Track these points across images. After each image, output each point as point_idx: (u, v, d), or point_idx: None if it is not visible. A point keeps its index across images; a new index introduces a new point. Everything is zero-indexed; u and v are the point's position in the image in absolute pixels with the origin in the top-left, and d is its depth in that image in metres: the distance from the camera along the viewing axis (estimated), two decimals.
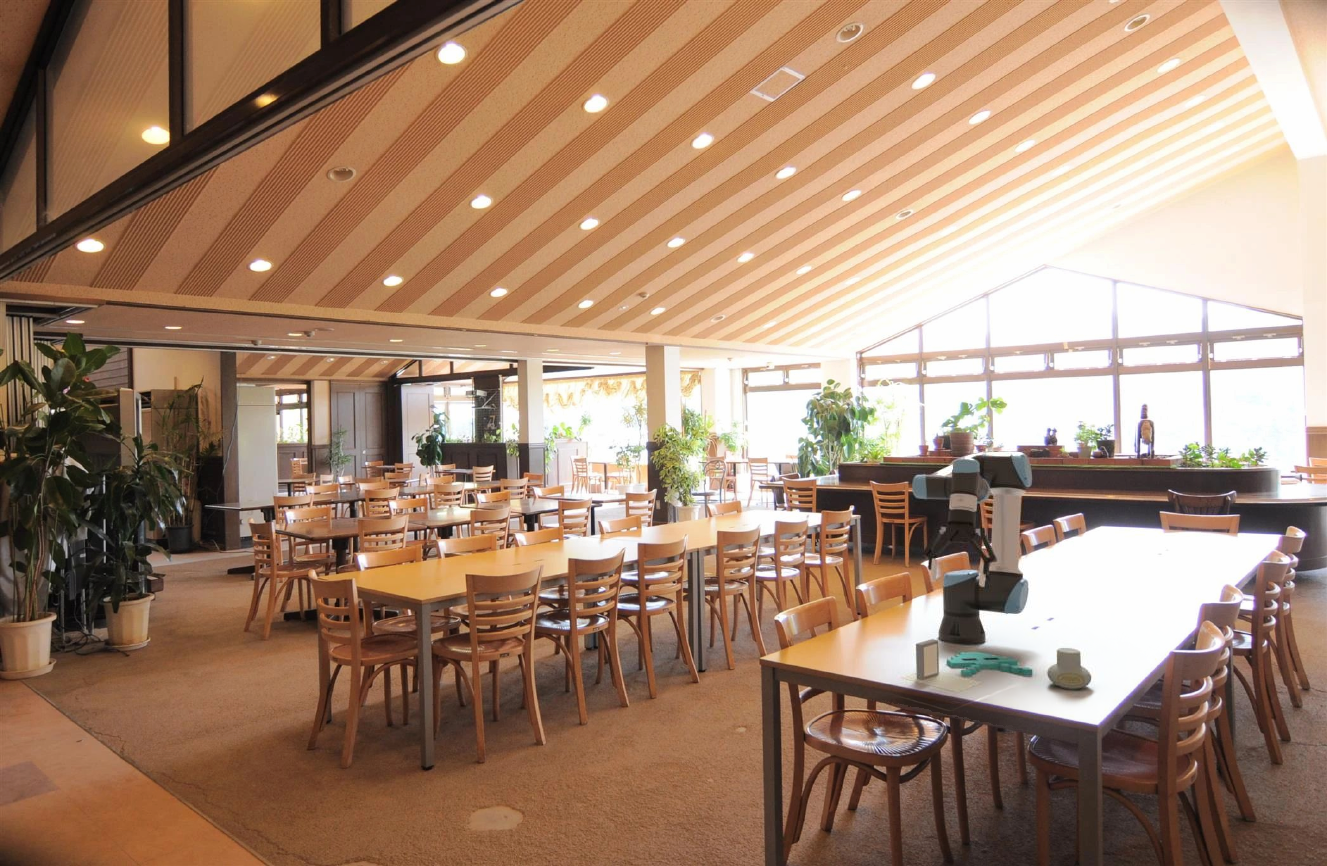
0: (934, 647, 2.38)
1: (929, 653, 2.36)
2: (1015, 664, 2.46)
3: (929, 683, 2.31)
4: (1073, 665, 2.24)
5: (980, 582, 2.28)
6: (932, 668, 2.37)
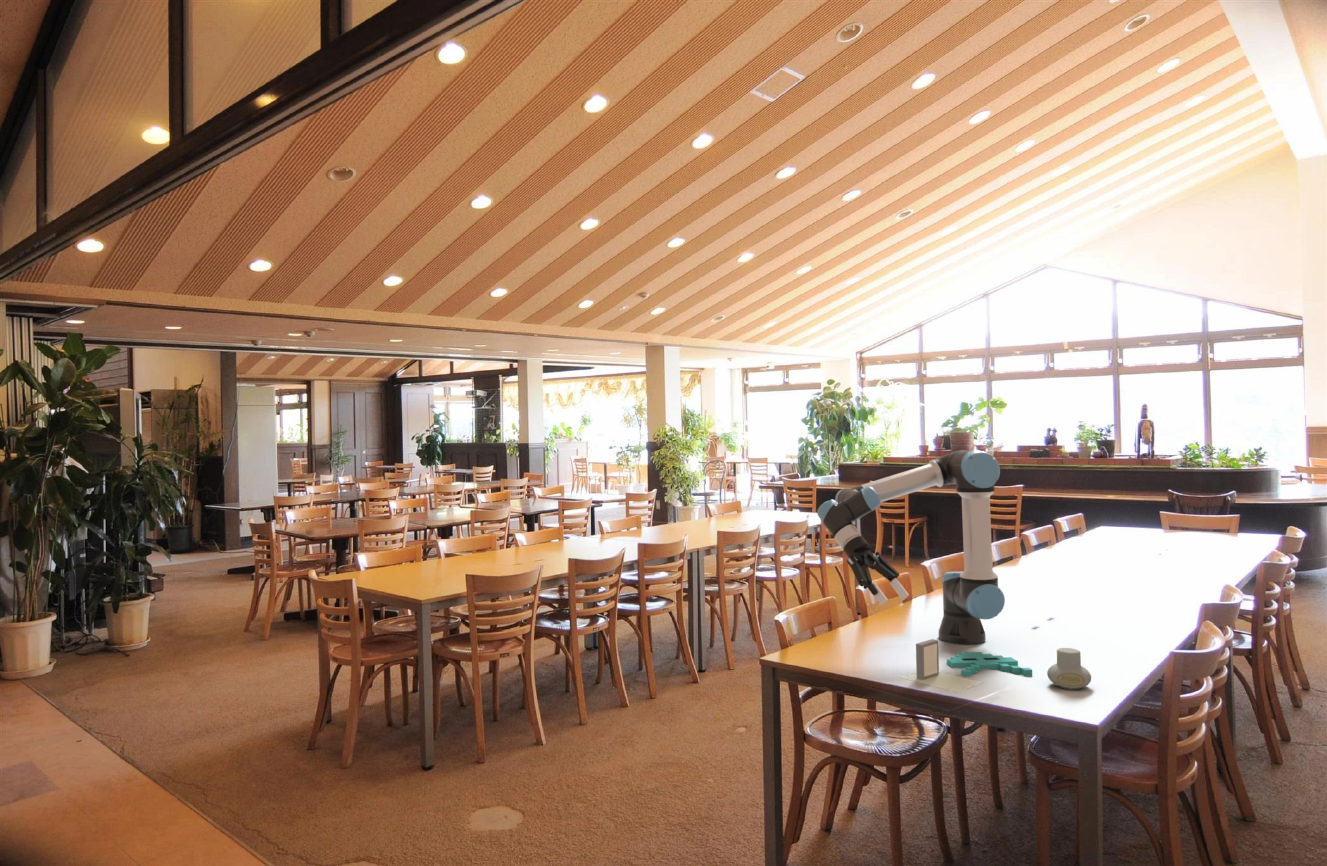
0: (934, 647, 2.38)
1: (929, 653, 2.36)
2: (1015, 664, 2.46)
3: (929, 683, 2.31)
4: (1073, 665, 2.24)
5: None
6: (932, 668, 2.37)
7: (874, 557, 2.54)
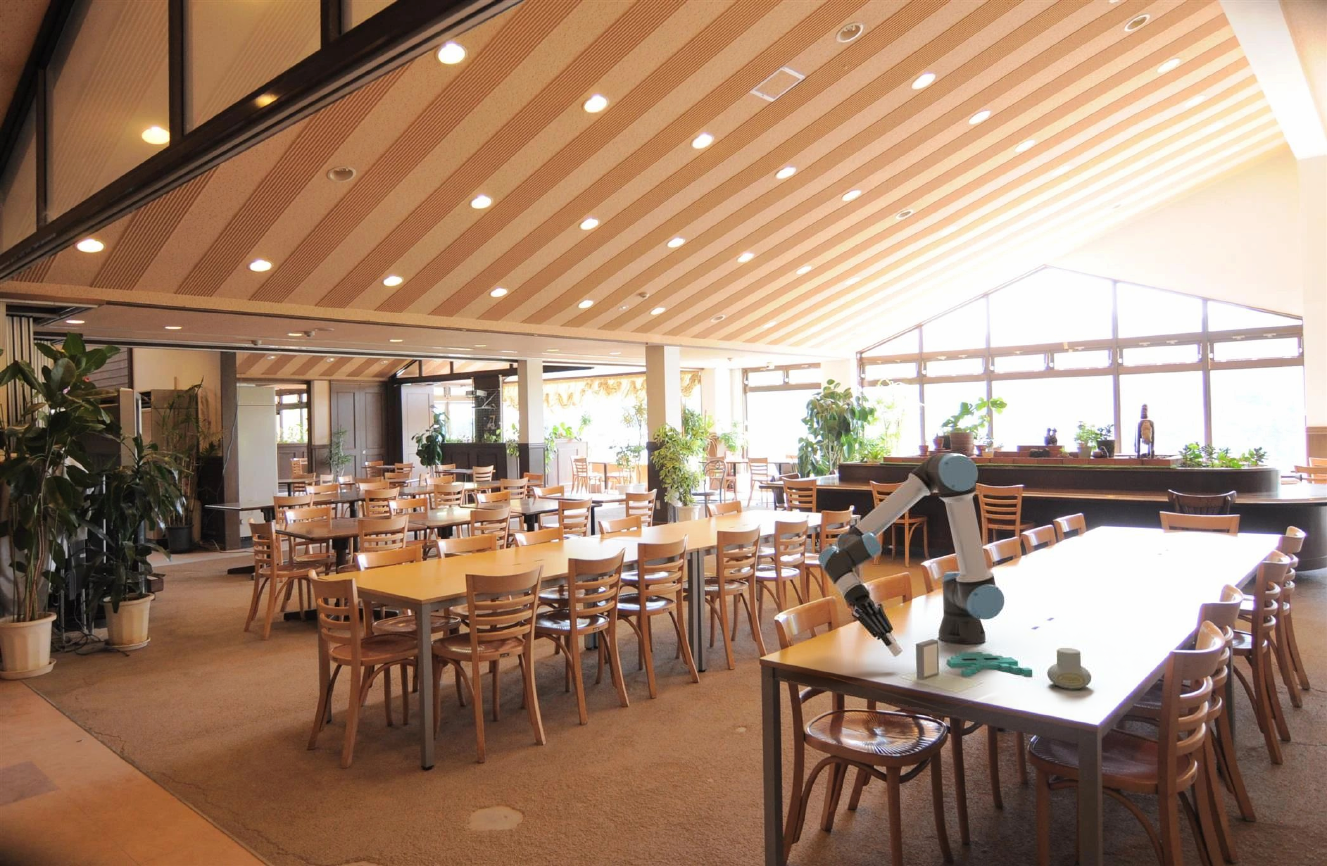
0: (934, 647, 2.38)
1: (929, 653, 2.36)
2: (1015, 664, 2.46)
3: (929, 683, 2.31)
4: (1073, 665, 2.24)
5: None
6: (932, 668, 2.37)
7: (874, 607, 2.54)
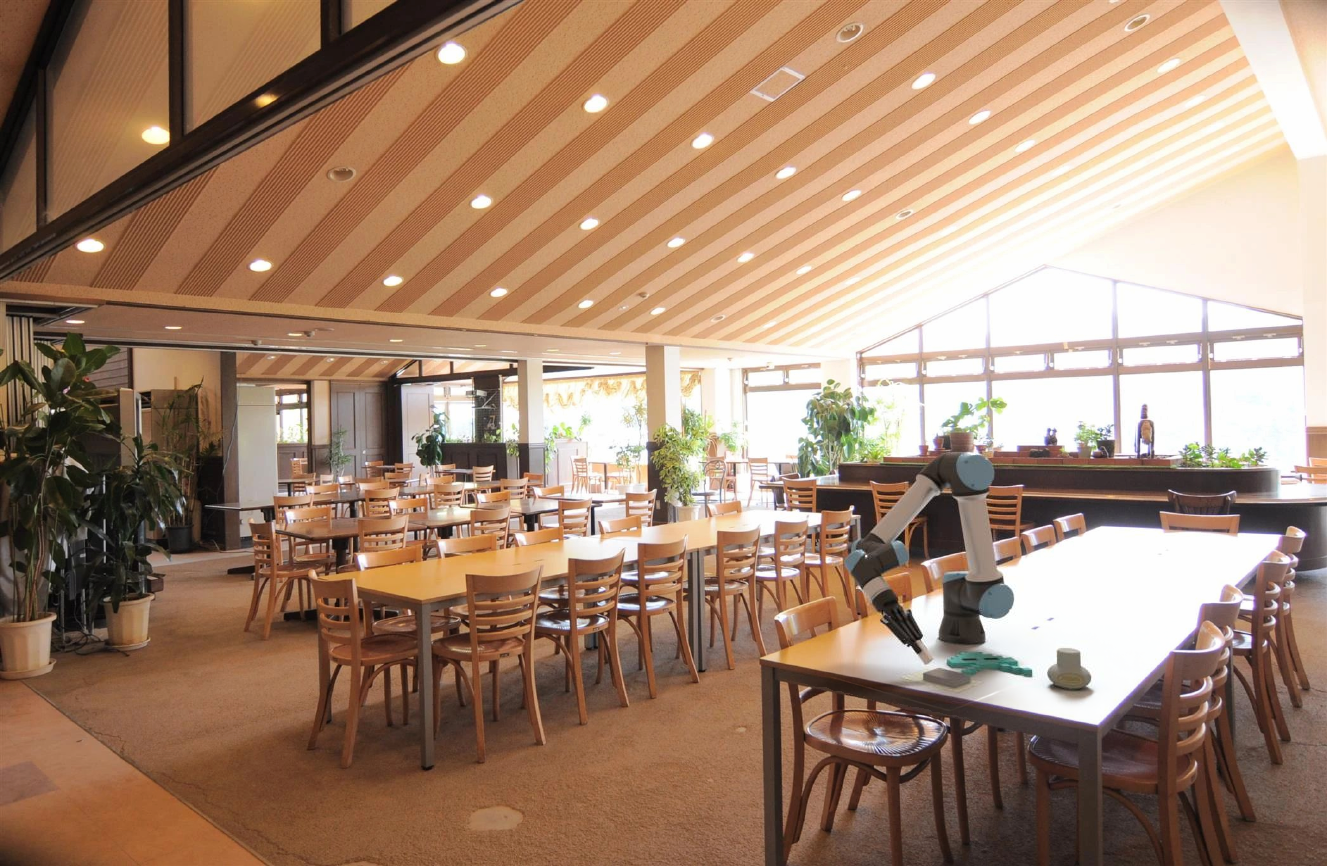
0: None
1: None
2: (1015, 664, 2.46)
3: (929, 683, 2.31)
4: (1073, 665, 2.24)
5: None
6: None
7: (903, 613, 2.45)
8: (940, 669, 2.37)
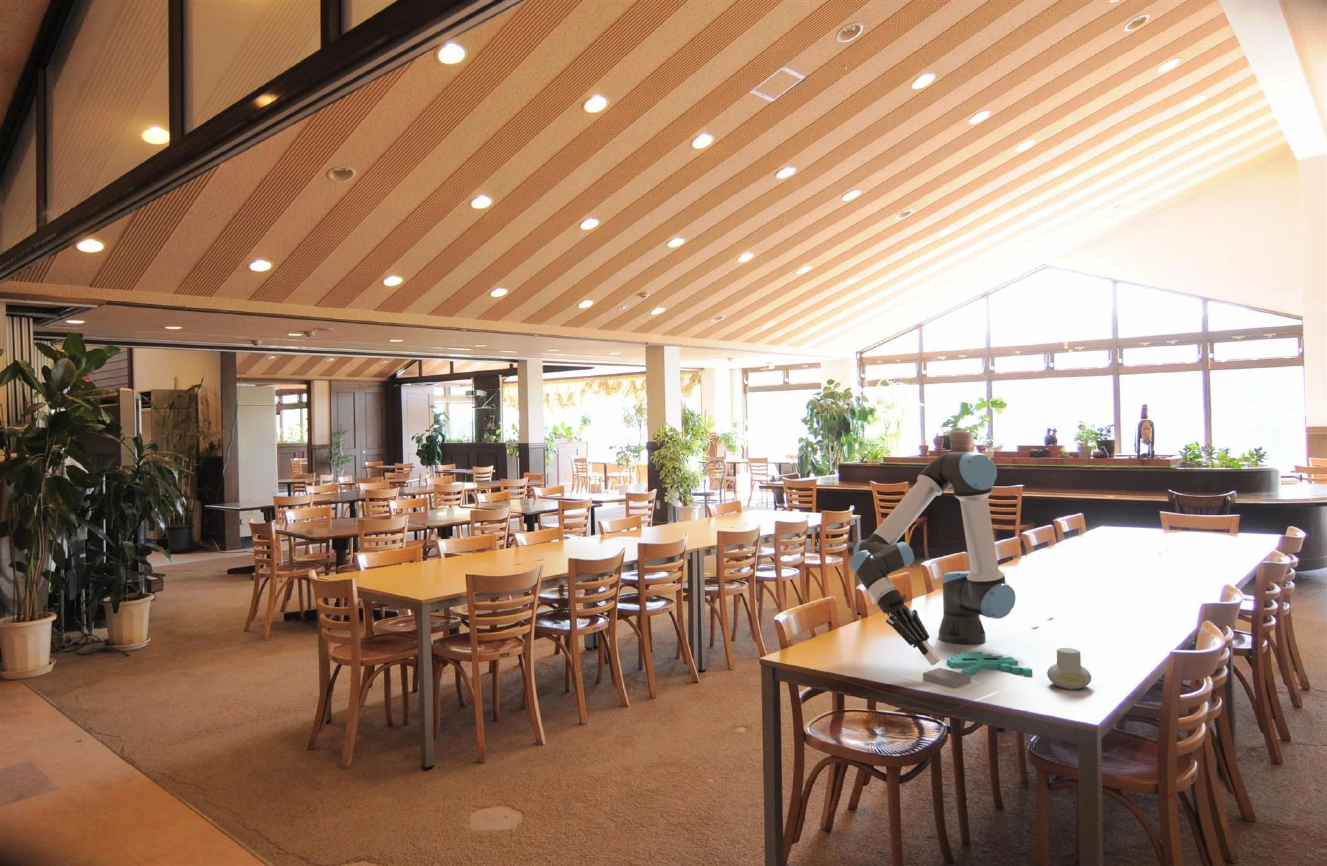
0: None
1: None
2: (1015, 664, 2.46)
3: (929, 683, 2.31)
4: (1073, 665, 2.24)
5: None
6: None
7: (909, 613, 2.44)
8: (940, 669, 2.37)
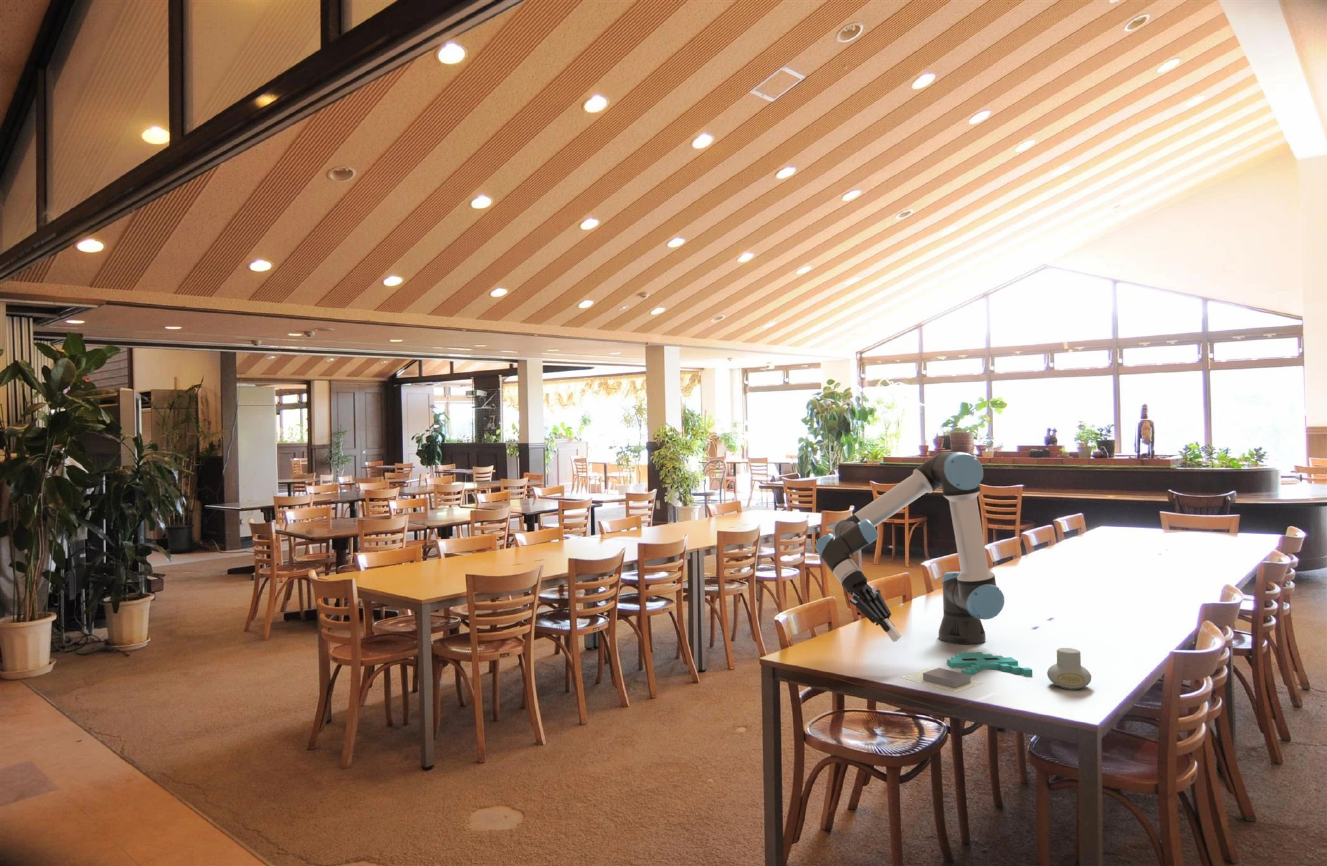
0: None
1: None
2: (1015, 664, 2.46)
3: (929, 683, 2.31)
4: (1073, 665, 2.24)
5: None
6: None
7: (872, 593, 2.54)
8: (940, 669, 2.37)
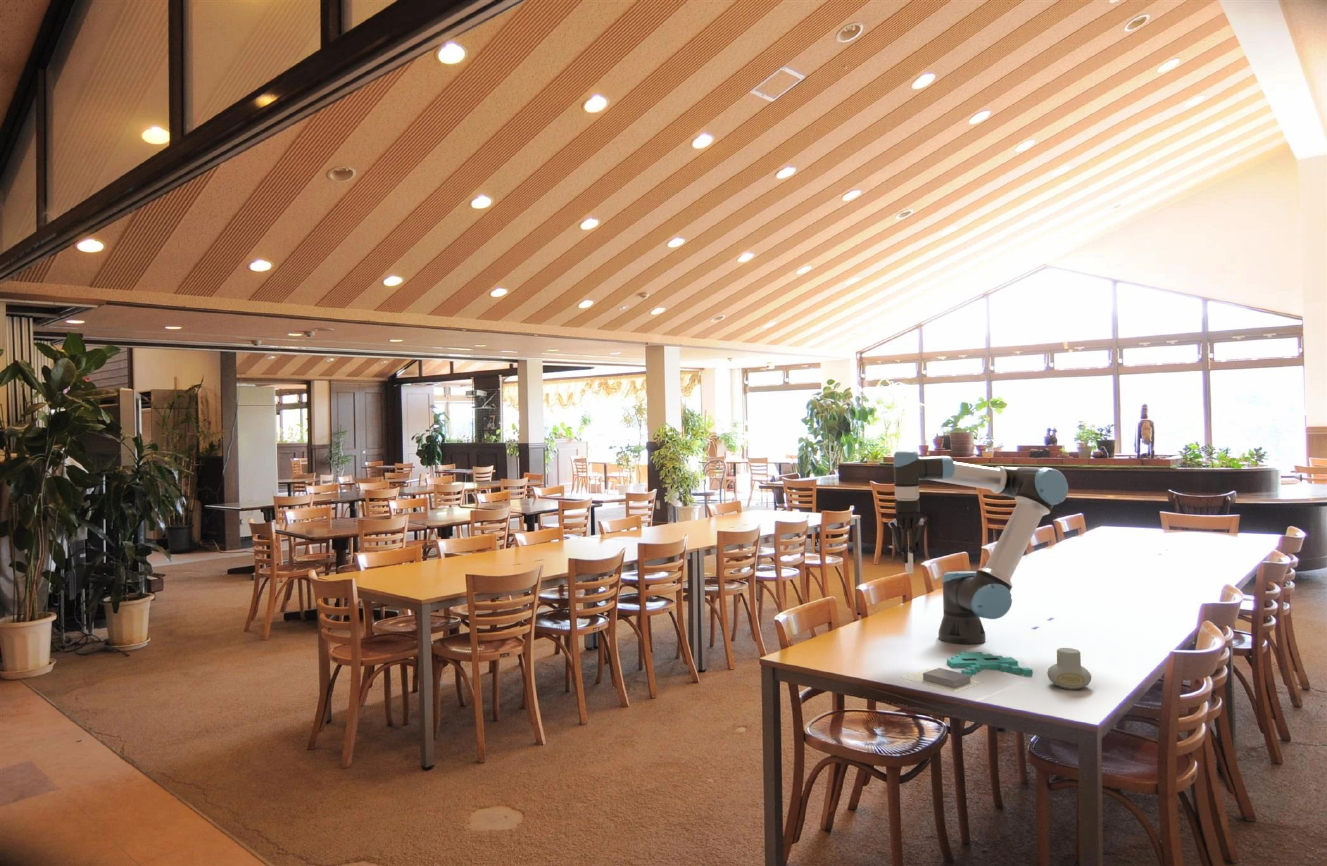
0: None
1: None
2: (1015, 664, 2.46)
3: (929, 683, 2.31)
4: (1073, 665, 2.24)
5: None
6: None
7: (914, 524, 2.61)
8: (940, 669, 2.37)
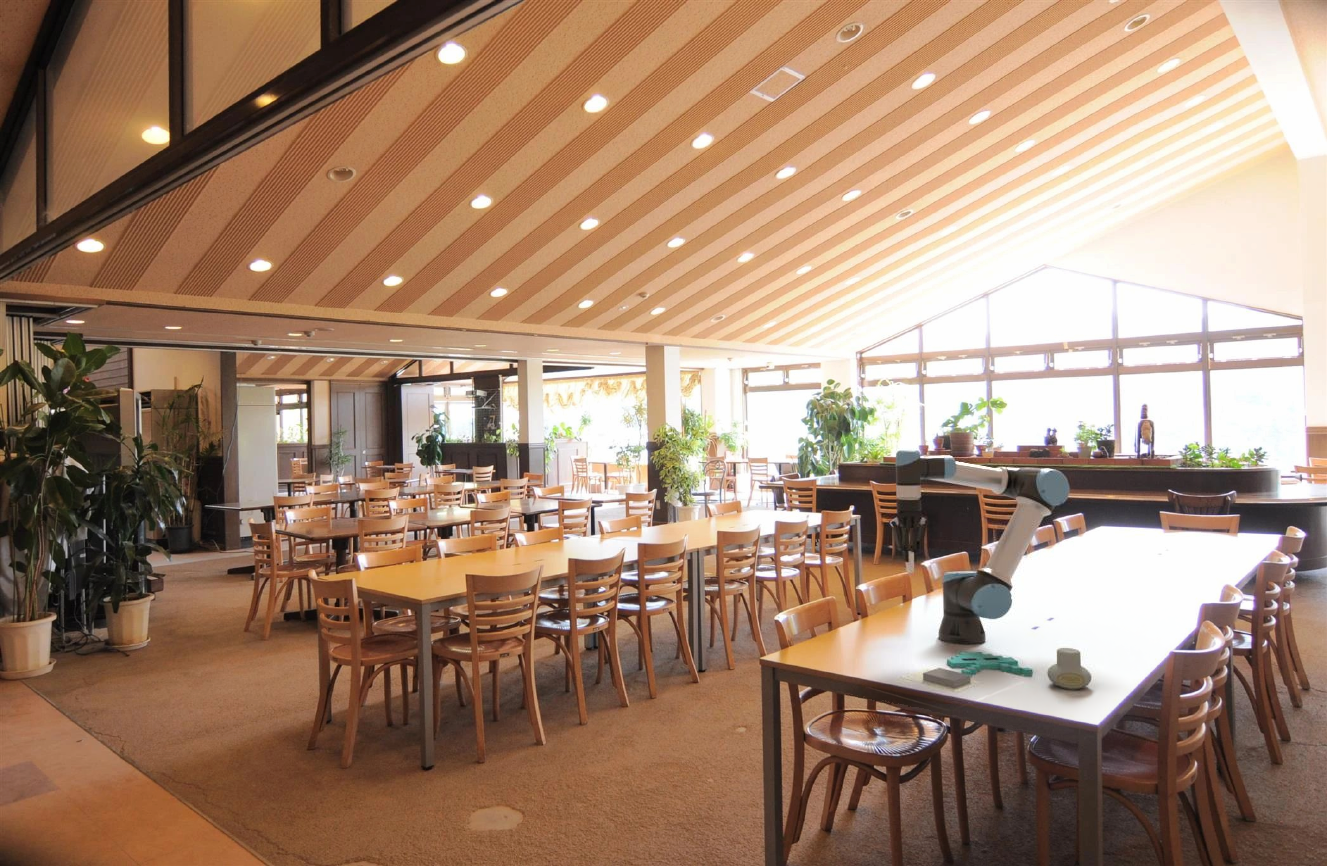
0: None
1: None
2: (1015, 664, 2.46)
3: (929, 683, 2.31)
4: (1073, 665, 2.24)
5: None
6: None
7: (916, 523, 2.61)
8: (940, 669, 2.37)
